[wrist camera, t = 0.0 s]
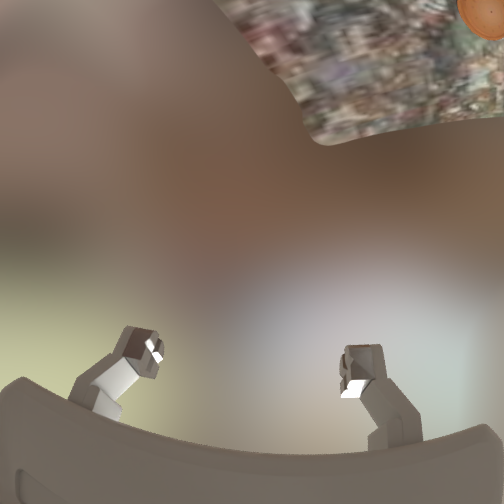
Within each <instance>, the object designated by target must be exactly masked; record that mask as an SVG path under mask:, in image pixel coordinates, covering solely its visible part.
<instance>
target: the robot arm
mask: <svg viewBox="0 0 504 504" xmlns="http://www.w3.org/2000/svg"><path fill="white" fill-rule="evenodd" d="M158 337H159V334H158V333H157V331H154V330H148V329H143V328H138V327H132V326H126V327H125V328H124V330H123V332H122V334H121V336H120V338H119V340H118V342H117V344H116V347H115V349H114V351H113V353H112V354H111V353H109V354H108V355H107V356H105V357H104V358H103V359H101V360H100V361H99V362H98V363H96V364H95V365H93V366H92V367H91V368H90V369H88V370H87V371H85V372H84V373H83V374H81V375H80V376H79V377H77V379H76V381H75V383H74V386H73V388H72V390H71V392H70V395H69V397H68V399H67V400H66V399H64V398H62V397H60V396H58V395H56V394H55V393H52V392H51V391H49V390H47V389H45V388H43V387H42V386H40V385H38V384H36V383H35V382H33V381H31V380H30V379H28V378H26V377H20V378H18V379H16V380H14V381H13V382H11V383H10V384H8V385H7V386H6V387H4V388H3V389H2V391H1V392H0V504H501V502H502V495H503V486H504V485H503V484H504V449H503V444H502V441H501V439H500V438H499V436H498V435H497V434H496V433H495V432H494V431H493V430H492V429H491V428H490V427H489V426H488V425H487V424H480V425H477V426H474V427H471V428H468V429H465V430H462V431H460V432H456V433H453V434H450V435H446V436H443V437H439V438H435V439H432V440H428V441H423V434H422V424H421V416H420V413H419V412H418V411H417V409H416V408H415V407H414V406H413V405H412V403H411V402H410V401H409V400H408V399H407V397H406V396H405V395H404V394H403V393H402V392H401V390H400V389H399V388H398V387H397V386H396V384H395V383H394V382H393V381H392V380H391V379H390V378H388V379H387V373H386V366H385V360H384V354H383V349H382V346H381V345H380V344H372V345H369V344H368V345H347V346H346V347H345V349H344V351H345V354H343V355H342V357H341V360H340V376H341V377H342V378H343V379H342V381H341V383H340V390H341V397H359V399H360V400H361V402H362V403H363V405H364V406H365V408H366V409H367V411H368V412H369V414H370V415H371V417H372V419H373V420H374V422H375V423H376V425H377V426H378V429H376V430H375V431H374V432H372V433H371V434H370V435H369V436H368V451H364V452H354V453H341V454H318V455H294V454H272V453H259V452H248V451H239V450H232V449H225V448H218V447H212V446H207V445H202V444H196V443H192V442H186V441H182V440H178V439H174V438H170V437H166V436H162V435H159V434H155V433H152V432H148V431H145V430H142V429H139V428H135V427H132V426H129V425H127V424H124V423H121V422H118V421H119V418H120V415H121V412H122V407H121V406H120V405H119V404H117V403H116V402H115V400H116V399H117V398H118V397H119V396H120V395H121V394H122V393H123V392H125V391H126V390H127V389H128V388H129V387H130V386H131V385H132V384H133V383H134V382H135V381H136V380H137V379H138V378H139V377H140V376H142V377H147V378H152V379H155V378H156V375H157V372H158V369H159V366H158V362H159V361H160V360H162V358H163V355H164V344H163V342H162V340H160V339H159V338H158Z"/></svg>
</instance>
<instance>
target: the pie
mask: <svg viewBox="0 0 504 504" xmlns="http://www.w3.org/2000/svg"><path fill="white" fill-rule="evenodd" d="M457 7H458V10H459V13H460V16H461V18H462V19H463V21H464V22H465V23H466V25H467V26H468V27H469V28H470V30H471V31H472V32H473V33H475V34H476V35H478V36H479V37H482V38H484V39H487V40H498V39H502V38H503V37H504V0H457Z"/></svg>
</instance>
